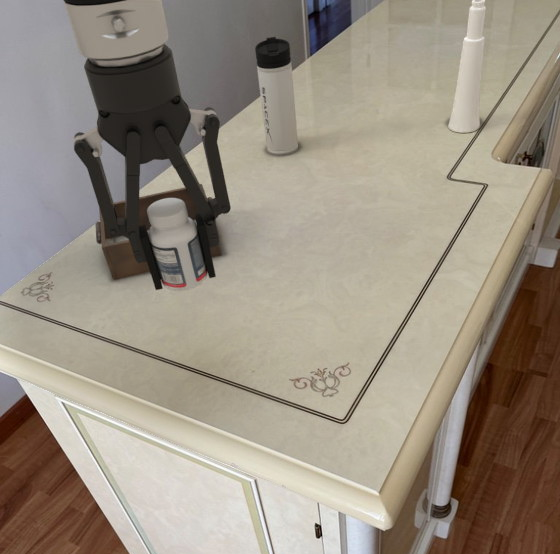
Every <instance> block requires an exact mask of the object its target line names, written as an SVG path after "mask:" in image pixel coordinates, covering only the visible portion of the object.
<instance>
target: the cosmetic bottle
mask: <svg viewBox="0 0 560 554" xmlns="http://www.w3.org/2000/svg"><path fill="white" fill-rule="evenodd" d="M485 4H486V0H471V6H469V8H468V18H467V27H466V36H465V37H464V38H463V42H462V48H461V55H460V61H459V67H458V73H457V82H456V86H455V87H456V88H455V93H454V100H453V105H452V109H451V114H450V118H449V120H448V125H447V127H448V129H449V130H450V131H452V132H454V133H459V134H469V133H473V132H476V131H477V130H479V128H480V127H481V123H480V120H481V119H480V100H481V88H482V87H481V84H482V75H483V74H482V73H483V64H484V51H485V36H484V35H483V34H484V26H485V17H486V10H487V7H486V5H485Z"/></svg>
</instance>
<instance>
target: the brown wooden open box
mask: <svg viewBox="0 0 560 554" xmlns="http://www.w3.org/2000/svg"><path fill="white" fill-rule="evenodd" d="M199 184H200V185H201V187H202V189H203V191H204V193H205V195H206V196H207V194H206V191H205V189H204V186H203V183H199ZM165 198H177V199H181V200H182V201H184V203H185V205H186V209H187V213H188V217H189V218H191V219H192V220H193V221H196V219H195V215H194V214H198V213H199V211H198V209H197V208H196V206H195V204H194V202H193V200H192V199H191V197H190V195H189V193H188V191H187V189H186V188H185V186H184V187H180V188H176V189H171V190H166V191H162V192H161V191H160V192H157V193H152V194H147V195H143V196H139V226H141V225H146V228H147V231H149V229H150V227H151V224H150V222H149V218H148V214H147V209H148V207H149V206H150V205H151V204H152V203H154V202H156V201H158V200H161V199H165ZM213 198H214V197H212V196H207V199H208V201H210V200H212V199H213ZM113 203H114V206H115V210H116V213H117V216H118V218H122V219H125V199H123V200H120V201H115V202H113ZM98 209H99V210H98V211H99V221H96V222H95V240H96V243H97V244H98V245H101V249H102V252H103V255H104V257H105V260H106V263H107V267H108V269H109V272H110V274H111V277H112V279H113V280H114V281H115V280H120V279H124V278H129V277H132V276H138V275H142V274H145V273H150V270H149V266H148V263H147V262H143V263H138V262H137V261H136V260H135V257H134V254H133V251H132V248H131V244H130V241H129V239H126V240H122V241H117V242H115V238H119V237H121V236H119V235H118V236H117V237H110V236H109V235H108V233H107V230H106V227H105V224H104V221H103V218H102V214H101V211H100V208H99V207H98ZM217 218H219V216H217ZM210 251H211V256H212V258H215V257H219V256H222V255H223V252H222V248H221V243H220V242H219V245H218V246H216V247H211V248H210Z"/></svg>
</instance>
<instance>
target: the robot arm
mask: <svg viewBox="0 0 560 554" xmlns="http://www.w3.org/2000/svg"><path fill="white" fill-rule="evenodd" d="M63 3H64V4H63V5H64V7H65V10H66V13H67V16H68V20H69V23H70V27H71V29H72V30H71V31H72V33H73V36H74V39H75V42H76V46H77V49H78V53H79V54H80V55H82V56H83V57H84V58H85V59H86V60H85V62H84V66H83V68H84V71H85V75H86V78H87V81H88V85H89V88H90V91H91V95H92V98H93V100H94V104H95V107H96V110H97V119H96V127H94V128H92V129H90V130H89V131H86V132H85V133H84V132H82V131H81V132H80V131H79V132H76V133H75V134H74V137H73V150H74V152H75V154H76V156H77V157H78V158H79V160H80V161H81V162H82V163H83V165H84V166H85V168H86V170H87V172H88V176H89V179H90V182H91V185H92V188H93V192H94V196H95V198H96V201H97V205H98V209H99V208H100V211H101V214H102V218H103V221H104V224H105V227H106V230H107V233H108V235H109V236H110V237H115V238H118V237H117V236H118V235H119V236H120V237H125V238H126V239H127V240H129V241H130V244H131V248H132V251H133V254H134V257H135V260H136V261H137V262H138V263H143V262H147V263H148V266H149V270H150V272H149V273H150V276H151V279H152V282H153V285H154V286H153V287H154V289H155V291H158V290H162V289H163V283H162V281H161V278H160V275H159V271H158V268H157V264H156V261H155V258H154V255H153V251H152V248H151V245H150V242H149V238H148V232H149V231H148V230H147V228H146V225H141V226H139V197H140V181H141V179H140V177H141V165H144V164H148V163H150V162H152V161H154V160H157V161H165V160H169V162H170V163H171V165H172V167H173V169H174V170H175V172H176V173H177V175H178V177H179V179H180V180H181V182H182V185H183V186H184V187H185V188H186V189H187V191H188V193H189V195H190V197H191V199H192V200H193V202H194V204H195V206H196V208H197V209H198V211H199V213H198V214H194V215H195V219H196V220H195V223H196V225H197V228H198V232H199V236H200V241H201V245H202V249H203V254H204V258H205V262H206V267H207V276H208V278H209V279H213V278H216V277H217V276H216V270H215V266H214V260H213V257H212V256H211V251H210V248H211V247H216V246H218V245H219V243H220V238H219V234H218V230H217V229H218V228H217V224H216V222H217V218H218V217H219V216H221V215H222V214H223V215H225V214H229V212H231V210H232V209H231V207H232V206H231V202H230V198H229V192H228V187H227V182H226V177H225V174H224V168H223V164H222V158H221V154H220V150H219V144H218V139H219V131H220V126H221V122H220V119H219V117H218V114H217V113H216V111H215V109H214V108H213V107H211V106H209V107H208V106H207V107H206V108H205V109H203V110H202V109H194V108H190V107H189V105H188V104H187V102H186V101H185V100H184V98H183V96H182V93H181V88H180V84H179V79H178V73H177V69H176V68H177V67H176V64H175V59H174V54H173V50H172V49H171V48H170V47H169V46H168V45H167V44H166V43H167V41H168V40H169V38H170V34H169V29H168V26H167V25H168V24H167V20H166V16H165V15H166V14H165V11H164V6H163V1H162V0H63ZM190 124H191V125H192V126H194V127H193V128H194V131H195V133H196V135H197V136H199V137H201V142H202V145H203V149H204V154H205V159H206V164H207V168H208V172H209V176H210V182H211V187H212V190H213V195H214V197H212V198H213V199H212V200H210V201H208V199H207V198H208V196H207V194H206V192H205V193H204V191H205V190H204V191H203V189H202V187H201V185H200V184H201V183H200V182H199V180H198V177H197V176H196V174H195V172H194V170H193V168H192V167H191V165H190V163H189V161H188V159H187V157H186V155H185V153H184V151H183V149H182V147H181V143H182V141H183V139H184V137H185V134H186V132H187V130H188V128H189V125H190ZM103 141H104V142H105V143H107V144H108V145H109V146H111V148H113V149H114V150H115V151H117V152H118V153H119V154H120V155H121V156H123V158H124V198H125V199H124V200H125V219H122V218H118V216H117V213H116V210H115V206H114V203H115V202H114V200H113V196H112V192H111V189H110V186H109V182H108V180H107V175H106V172H105V168H104V166H103V162H102V159H101V156H102V154H103V146H102V142H103ZM205 194H206V195H205ZM217 216H218V217H217Z"/></svg>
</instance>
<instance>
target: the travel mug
mask: <svg viewBox="0 0 560 554" xmlns="http://www.w3.org/2000/svg"><path fill="white" fill-rule="evenodd" d="M254 51H255V59H256V68H257V79H258V85H259V86H258V87H259V94H260V104H261V112H262V120H263V128H264V135H265V144H266V151H267V153H268V154H269V155H271V156H275V157H284V156H288V155H291V154H294V153H295V152H297V151H298V150H299V140H298V139H299V138H298V137H299V136H298V128H297V127H298V125H297V115H296V104H295V103H296V101H295V89H294V78H293V66H292V57H291V45H290V42H289V41H288V40H285V39H282V38H277V37H276V36H270V37H266V38H265V40H262V41H260V42H259V43H257V44H256V45H255V49H254Z"/></svg>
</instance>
